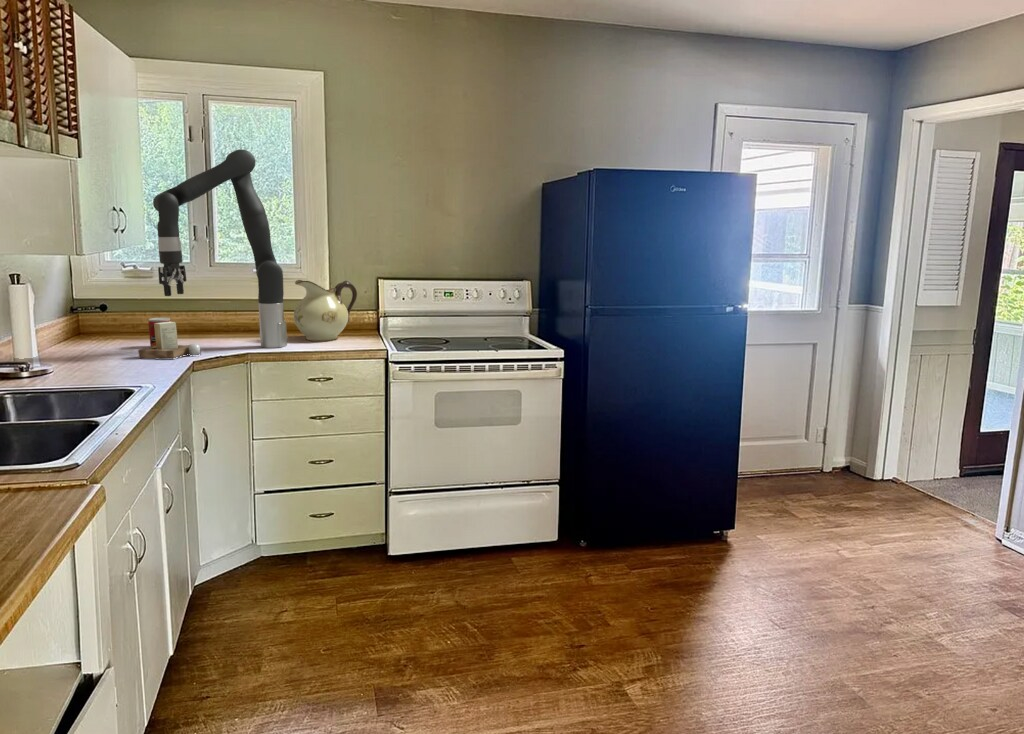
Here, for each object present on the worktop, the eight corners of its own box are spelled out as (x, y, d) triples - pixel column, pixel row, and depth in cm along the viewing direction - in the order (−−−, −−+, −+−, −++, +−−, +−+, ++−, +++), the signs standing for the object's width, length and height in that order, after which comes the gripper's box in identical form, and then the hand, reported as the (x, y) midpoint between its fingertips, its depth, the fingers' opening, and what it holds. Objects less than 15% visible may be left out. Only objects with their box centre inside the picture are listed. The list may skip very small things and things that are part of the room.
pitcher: (283, 340, 312) (281, 280, 307) (315, 334, 334) (313, 277, 330) (330, 344, 305) (329, 282, 301) (359, 337, 327) (359, 279, 323)
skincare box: (173, 354, 275) (171, 321, 273) (179, 355, 272) (176, 322, 270) (155, 356, 270) (153, 322, 268) (161, 357, 267) (159, 323, 265)
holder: (195, 353, 277) (194, 345, 277) (174, 359, 264) (173, 350, 263) (161, 352, 279) (161, 344, 278) (139, 358, 265) (138, 350, 265)
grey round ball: (202, 354, 274) (201, 344, 274) (197, 356, 271) (196, 345, 270) (192, 354, 275) (192, 343, 274) (187, 356, 271) (186, 345, 270)
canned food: (148, 348, 288) (146, 320, 286) (152, 345, 296) (150, 317, 294) (170, 347, 290) (168, 319, 288) (173, 345, 298) (171, 317, 296)
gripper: (169, 250, 263) (173, 296, 265) (190, 249, 276) (194, 293, 279) (149, 250, 263) (153, 296, 266) (170, 249, 277) (175, 293, 280)
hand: (174, 295), depth 273 cm, fingers open, 8 cm apart
